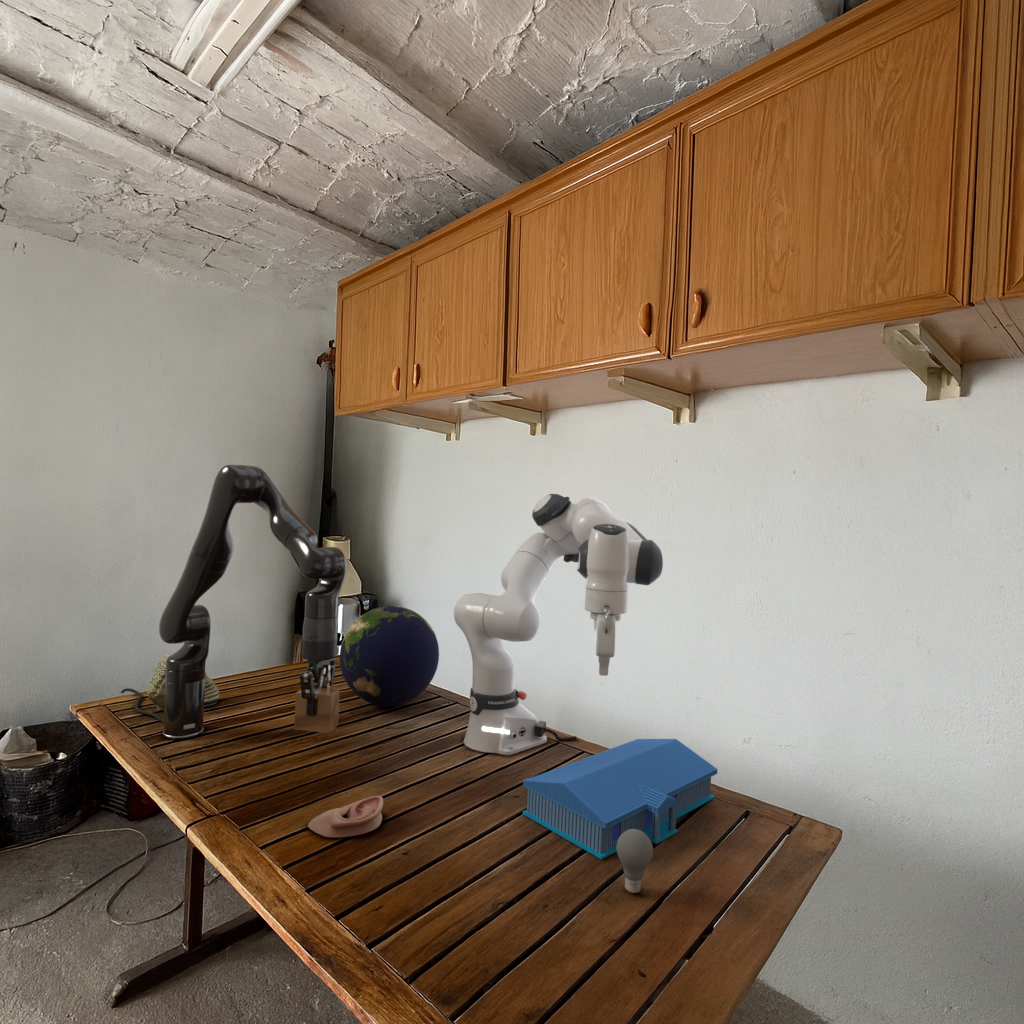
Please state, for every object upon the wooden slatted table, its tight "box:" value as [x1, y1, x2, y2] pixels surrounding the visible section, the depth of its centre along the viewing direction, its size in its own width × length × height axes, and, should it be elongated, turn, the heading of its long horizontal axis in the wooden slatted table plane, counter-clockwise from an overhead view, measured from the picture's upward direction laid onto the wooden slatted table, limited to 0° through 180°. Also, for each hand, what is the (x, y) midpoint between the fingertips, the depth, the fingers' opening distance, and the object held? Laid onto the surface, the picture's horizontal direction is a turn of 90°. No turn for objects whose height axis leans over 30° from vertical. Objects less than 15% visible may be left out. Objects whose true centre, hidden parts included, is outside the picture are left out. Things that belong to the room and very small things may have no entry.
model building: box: [522, 738, 718, 860], centre depth 134 cm, size 39×24×10 cm, turn 132°
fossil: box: [147, 654, 221, 712], centre depth 185 cm, size 9×18×15 cm, turn 132°
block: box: [294, 688, 340, 734], centre depth 142 cm, size 5×8×8 cm, turn 83°
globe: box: [339, 605, 440, 707], centre depth 194 cm, size 30×30×30 cm
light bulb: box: [616, 829, 654, 894], centre depth 106 cm, size 6×6×10 cm
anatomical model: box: [307, 795, 384, 839], centre depth 123 cm, size 13×4×12 cm
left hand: (316, 711), depth 142 cm, fingers closed on block, 5 cm apart
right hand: (602, 668), depth 132 cm, fingers open, 8 cm apart
